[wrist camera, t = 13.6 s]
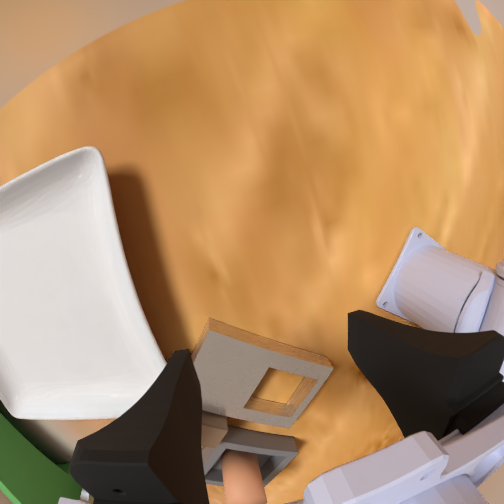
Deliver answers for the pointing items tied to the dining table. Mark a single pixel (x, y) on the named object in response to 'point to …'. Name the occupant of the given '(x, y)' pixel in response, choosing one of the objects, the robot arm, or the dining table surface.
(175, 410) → the robot arm
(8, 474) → the ramp block with notch
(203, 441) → the block
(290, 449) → the tray
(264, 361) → the grey flat frame
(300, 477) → the dining table surface
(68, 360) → the salad plate
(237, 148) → the dining table surface
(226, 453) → the dowel
